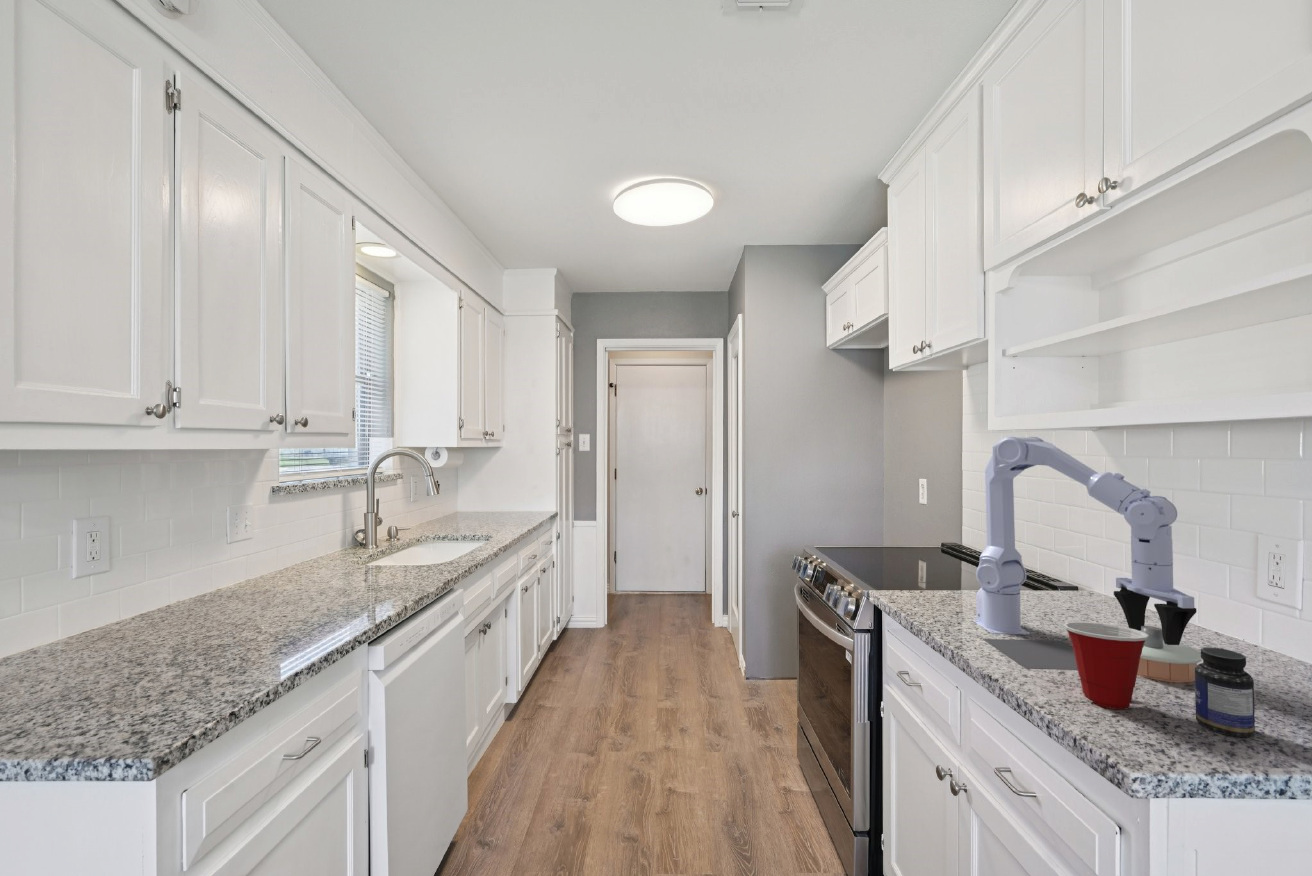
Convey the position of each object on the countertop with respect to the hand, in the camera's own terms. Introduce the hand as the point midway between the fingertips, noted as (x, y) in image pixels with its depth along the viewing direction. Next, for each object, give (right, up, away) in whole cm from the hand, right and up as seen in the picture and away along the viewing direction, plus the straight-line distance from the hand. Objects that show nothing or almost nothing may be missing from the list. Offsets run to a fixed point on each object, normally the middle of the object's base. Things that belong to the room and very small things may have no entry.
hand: (1153, 637), depth 103 cm
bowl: (0, -6, 0) cm, 6 cm away
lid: (0, -2, 0) cm, 2 cm away
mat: (-14, -7, +8) cm, 18 cm away
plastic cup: (-18, -7, -12) cm, 22 cm away
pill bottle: (-8, -6, -20) cm, 23 cm away
